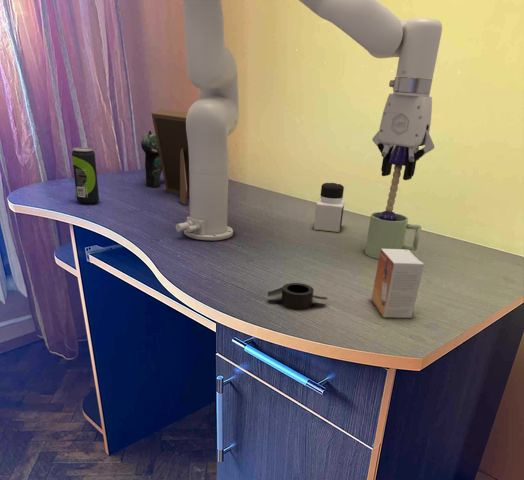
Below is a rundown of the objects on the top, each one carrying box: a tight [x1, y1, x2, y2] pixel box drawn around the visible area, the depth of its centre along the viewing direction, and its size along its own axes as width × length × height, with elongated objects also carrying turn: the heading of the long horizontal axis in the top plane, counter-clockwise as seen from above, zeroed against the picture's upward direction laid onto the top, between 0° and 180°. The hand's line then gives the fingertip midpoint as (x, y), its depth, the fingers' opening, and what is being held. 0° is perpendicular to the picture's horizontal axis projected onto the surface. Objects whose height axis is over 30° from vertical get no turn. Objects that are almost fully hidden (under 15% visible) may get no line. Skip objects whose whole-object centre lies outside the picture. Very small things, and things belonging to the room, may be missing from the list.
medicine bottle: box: [313, 182, 345, 233], centre depth 141 cm, size 7×7×12 cm
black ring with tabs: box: [267, 282, 328, 311], centre depth 96 cm, size 8×10×3 cm
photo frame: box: [151, 108, 190, 206], centre depth 159 cm, size 15×22×25 cm
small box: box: [370, 249, 425, 319], centre depth 94 cm, size 8×6×10 cm
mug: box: [364, 211, 422, 260], centre depth 124 cm, size 12×9×9 cm
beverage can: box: [71, 147, 100, 206], centre depth 149 cm, size 6×6×15 cm
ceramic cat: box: [140, 130, 163, 188], centre depth 178 cm, size 20×6×20 cm, turn 147°
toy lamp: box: [379, 145, 409, 221], centre depth 118 cm, size 5×5×17 cm
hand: (396, 176), depth 117 cm, fingers closed on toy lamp, 4 cm apart
